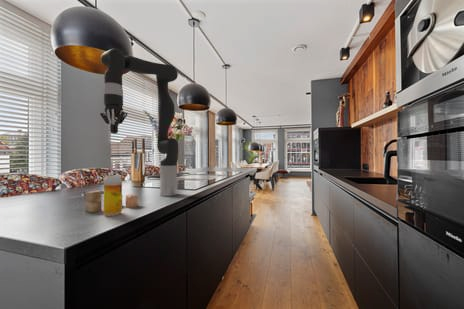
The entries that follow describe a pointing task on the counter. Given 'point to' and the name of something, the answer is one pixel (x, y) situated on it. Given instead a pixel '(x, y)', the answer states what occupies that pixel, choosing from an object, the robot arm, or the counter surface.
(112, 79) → the robot arm
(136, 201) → the pinkish brown block
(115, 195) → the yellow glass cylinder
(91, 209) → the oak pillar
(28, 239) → the counter surface
